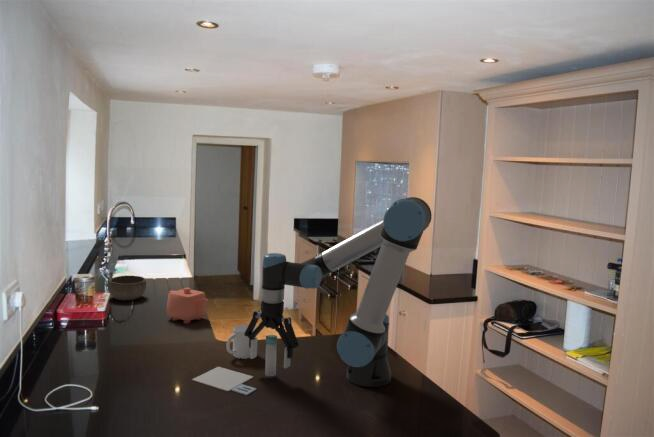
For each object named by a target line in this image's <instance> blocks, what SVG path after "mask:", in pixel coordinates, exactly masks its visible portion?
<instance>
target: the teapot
mask: <svg viewBox="0 0 654 437" xmlns="http://www.w3.org/2000/svg"><path fill="white" fill-rule="evenodd" d="M167 294H168V296H167V303H166V316H168V317H170V318H172V319H171V320H172V321H175V322H176V321H179V320H182V321H183V324H188V325H189V324H190V323H191V321H194V320H196V321H197V320H202V317H205V316H206V314H207V303H208V301H209V299H208V298H206V293H205V291H204V292H203V291H200V290H195V289H191V287H184V288H181V289H178V290H169V291H168V293H167Z"/></svg>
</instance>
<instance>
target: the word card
mask: <svg viewBox="0 0 654 437" xmlns="http://www.w3.org/2000/svg"><path fill="white" fill-rule="evenodd" d="M230 391H232V392H234V393H237V394H240V395H244V396H248V395H250V394H252V393H253V392H255V391H257V388H256V387H253V386H249V385H247V384H244V383H242V384H240V385H239V386H237V387H235V388H233V389H232V390H230Z"/></svg>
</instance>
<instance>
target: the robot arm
mask: <svg viewBox="0 0 654 437" xmlns="http://www.w3.org/2000/svg"><path fill="white" fill-rule="evenodd" d="M432 216H433V214H432V210H431V207H430V206H429V204H428V202H426V201H425V200H423V199H421V198H419V197H415V196H414V197H413V196H412V197H411V196H410V197H407V198H400V199H397V200H396V201H394V202H392V203H391V204H390V205H389V206H388V207H387V209H386V210H385V213H384V215H383V218H382V219H380V220H378V221H377V222H375V223H373V224H370V225H369V226H368V227H366V228H364V229H363V230H361V231H359V232H357V233H355V234H353V235H351V236H350V237H348V238H346V239H344V240H342V241H339V243H337V244H335V245H334V246H331V247H330V248H328V249H326V250H324V251H323V252H321V253H319V254H317V255H314V257H312V258H309V259H306V260H305V261H302V262H301V263H300V262H290V261H288V260H287V257H286V255H285V254H283V253H278V252H277V253H275V252H272V253H267V254H265V255H264V256H263V260H262V267H261V269H262V271H261V272H262V274H261V277H262V278H261V280H262V281H261V291H260V292H261V296H260V298H261V302H260V309H259V310H255V311H253V312H252V318H251V319H250V321H249V324H248V325H249V326H248V328H247V330H246V332H245V334H244V335H245V336H247V337H249V348H251V352H250V358H249V359H250V360H252V359H255V358H257V356H258V340H259V339H258V337H257V336H258V335H259V333H261V331H263V329H264V328H268V329H269V328H270V329H271V330H274V331H276V333H277V334H278V335H279V337H280V338H281V340H282V342H283V344H284V346H285V348H284V351H283V352H284V353H283V354H284V355H283V356H284V357H283V369H287V368H288V367H291V358H293V354H294V349H296V348H297V347H299V342H298V339H297V336H296V333H295V330H294V327H293V325H292V318H291V317H290V316H289V317H284V315H283V314H284V309H285V308H284V307H285V302H284V300H285V286H292V287H297V288H304V289H305V290H306V289H308V290H309V289H314V290H315V289H317V288H319V286H320V284H321V281H322V279H323V278H324V277H326V276H328V275H329V274H332V273H333V272H335V271H337V270H339V269H340V268H343V267H344V266H347V265H349V264H350V263H353V262H354V261H356V260H357V259H360V258H361V257H363V256H365V255H367V254H369V253H371V252H373V251H375V250H377V249H378V248H379V252H378V254H377V257H376V260H375V262H374V264H373V268H372V270H371V273H370V275H369V278H368V281H367V283H366V286H365V289H364V291H363V294H362V297H361V300H360V302H359V304H358V308H357V311H355V312H354V313H352V314H350V316H349V318H348V321H347V324H346V327H345V329H344V331H343V332H342V334H340V336H339V337H338V340H337V342H336V350H337V354H338V355H339V357H340V359H341V360H342V362H344V363H345V364H347V365H348V366H347V368H346V375H345V376H346V379H347V381H348V382H350V383H352V384H354V385H356V386H360V387H365V388H379V387H384V386H386V385H389V383H391V381H392V371H391V368H390V365H389V360H388V346H389V345H388V344H389V342H388V341H389V328H390V316H389V315H388V314H387V312H388V310H389V307H390V304H391V302H392V300H393V296H394V294H395V292H396V289H397V286H398V284H399V281H400V279H401V276H402V273H403V271H404V268H405V266H406V263H407V260H408V258H409V256H410V253H411V252H413V251H416V250H417V249H418V246H419V244H420V242H421V238H422V236H423V234H424V232H425V230H427V228H428V227H429V226H430V223H431V222H432ZM260 319H261V322H260V323H259V324H258V326H256V325H257V323H258V321H259V320H260ZM255 327H256V329H255V330H254V331H253V329H254V328H255ZM252 331H253V332H252ZM255 337H256V338H255Z"/></svg>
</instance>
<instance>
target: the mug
mask: <svg viewBox="0 0 654 437" xmlns="http://www.w3.org/2000/svg"><path fill="white" fill-rule="evenodd" d="M248 326H249V324H239V325H238V324H237V325H235V326H233V328H232V334H231V335H229V337H228V338H227V341H226V345H225V346H226V347H225V348H226V351H227V353H229V354H231V355H232V356H233V357H235V358H237V359H240V358H241V359H243V360H244V359H245V360H246V359H251V358H250V352H251V348H249V337H247V336H245V335H244V334H245V332H246V330H247V328H248ZM256 328H257V326H255V328H254V329H253V331H254V330H255V329H256ZM253 331H252V332H253ZM255 338H257V336H256V337H255ZM231 342H232V349H231Z"/></svg>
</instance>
